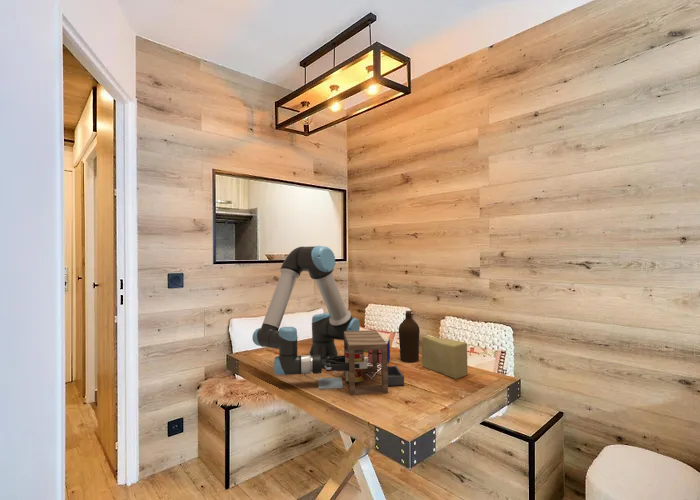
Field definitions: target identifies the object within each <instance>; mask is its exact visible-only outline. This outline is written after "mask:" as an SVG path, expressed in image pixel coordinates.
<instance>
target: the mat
mask: <svg viewBox="0 0 700 500" xmlns="http://www.w3.org/2000/svg"><path fill="white" fill-rule="evenodd" d="M330 389H332V390H333V389H344V385H343V379H342V377H341V376H340V377H322V378H321V377H320V378H318V390H330Z"/></svg>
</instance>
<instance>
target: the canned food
mask: <svg viewBox="0 0 700 500" xmlns="http://www.w3.org/2000/svg"><path fill="white" fill-rule="evenodd" d="M364 352H365V351H363V350H356V351H354V355H355V362H364V361H365V355H364ZM345 363H349V349H347V350H345ZM344 375H345V381H347V382H349V371H345V373H344ZM364 380H365V373H364V369H355V383H359V382H363V381H364Z"/></svg>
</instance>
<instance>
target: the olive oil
mask: <svg viewBox="0 0 700 500" xmlns="http://www.w3.org/2000/svg"><path fill="white" fill-rule="evenodd" d="M404 316H405V317H404V320H402V322H401V323H400V324H399V326H398V340H399V341H398V342H399V345H398V346H399V359H400V361H401V362H403V363H417V362H419V360H420V356H419V355H420V327H419V324H418V323H417V322H416V321H415V320H414V318H413V311H412V310H405V315H404Z"/></svg>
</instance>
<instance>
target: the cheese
mask: <svg viewBox="0 0 700 500" xmlns="http://www.w3.org/2000/svg"><path fill="white" fill-rule="evenodd" d="M421 341H422V342H421V366H422V367H423V368H426V369H428V370H431V371H434V372H437V373H439V374H442V375H444V376H447V377H450V378H452V379H454V380H457V379H460V378H463V377H465V376H467V375H468V370H469V369H468V343H467V342H465V341H459V340H455V339H447V338H440V337H435V336H432V335H423V336H422V340H421Z"/></svg>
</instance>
